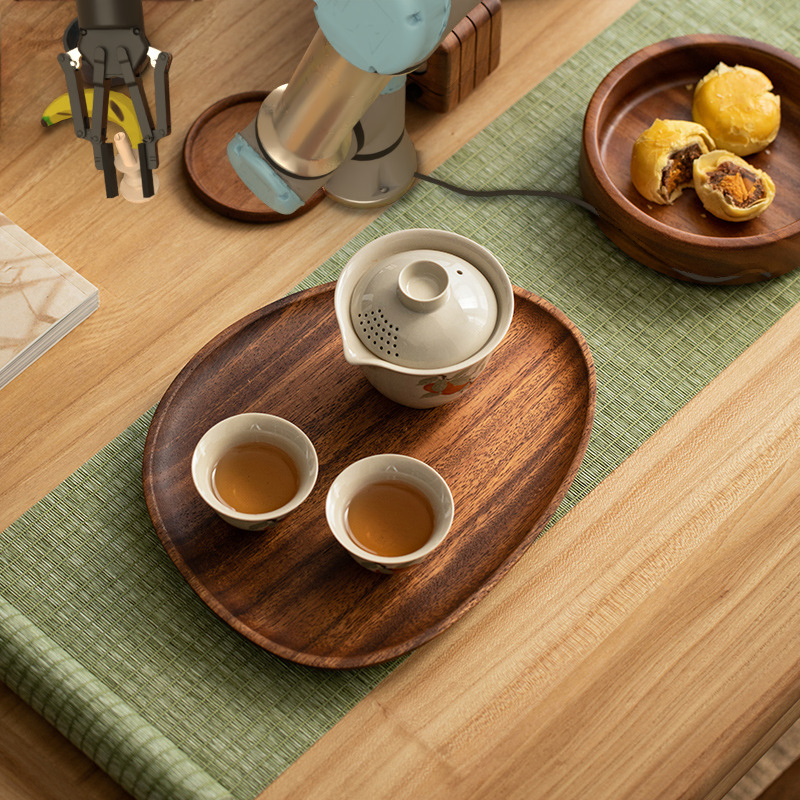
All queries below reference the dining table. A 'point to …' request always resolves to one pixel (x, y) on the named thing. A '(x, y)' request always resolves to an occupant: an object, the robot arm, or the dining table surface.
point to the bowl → (69, 44)
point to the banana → (117, 112)
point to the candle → (131, 171)
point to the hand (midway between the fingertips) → (130, 196)
